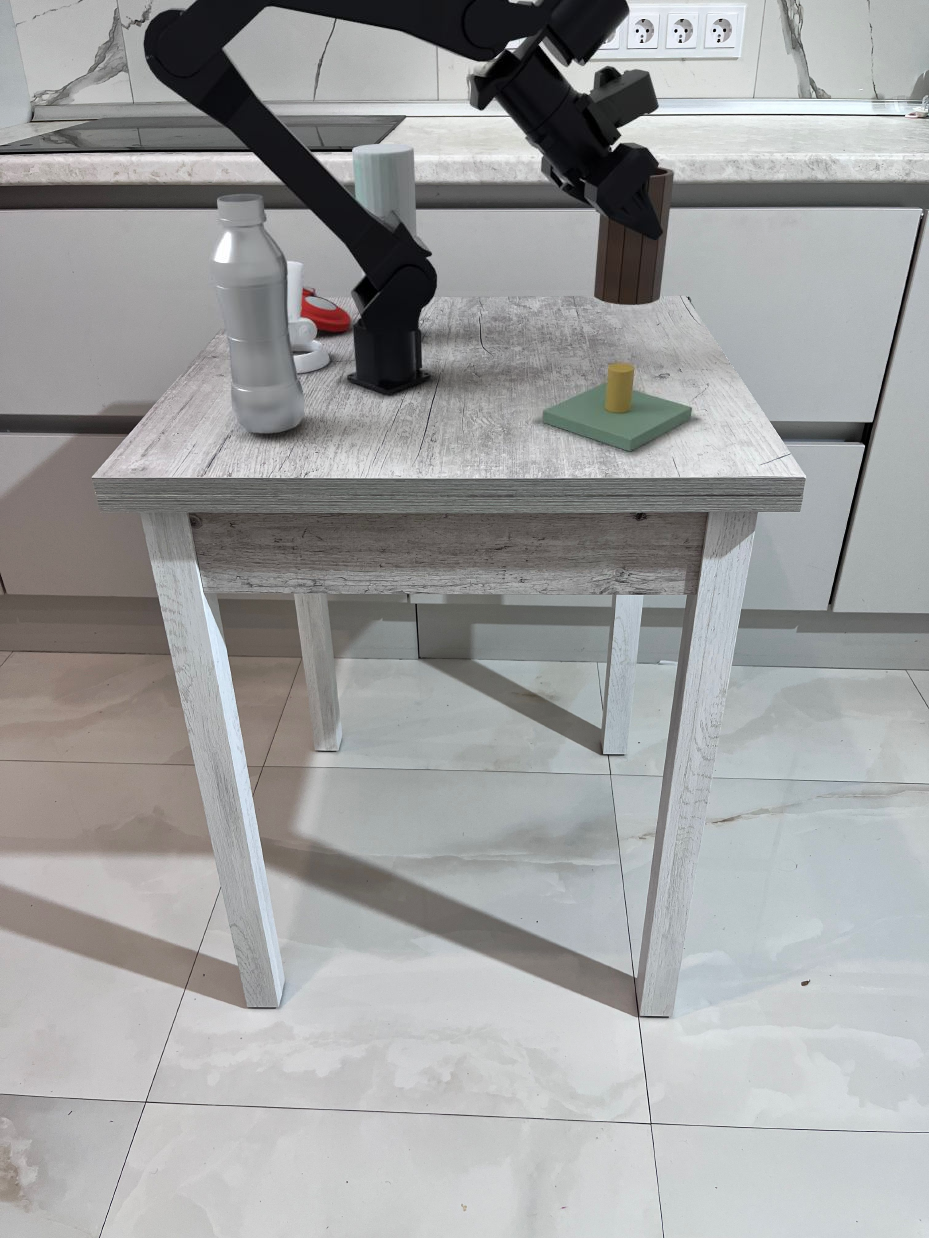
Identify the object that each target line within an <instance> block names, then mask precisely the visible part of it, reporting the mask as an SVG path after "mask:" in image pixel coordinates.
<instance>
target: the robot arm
mask: <svg viewBox="0 0 929 1238" xmlns="http://www.w3.org/2000/svg"><path fill="white" fill-rule="evenodd" d="M271 7H274V8H279V9H284V10H288V11H294V12H298V13H299V12H300V13H303V14H309V15H314V16H320V17H325V18H330V19H335V20H340V21H345V22H351V23H357V24H361V25H366V26H371V27H376V28H382V29H387V30H392V31H397V32H400V33H402V34H405V35H407V36H410V37H412V38H414V39H417V40H419V41H422V42H424V43H426V44H428V45H431V46H433V47H435V48H438V49H440V50H442V51H445V52H447V53H450V54H453V55H455V56H458V57H461V58H465V59H468V60H471V61H474V62H478V63H480V62H489V61H492V60H494V61H493V62H492V63H491V65H490V66H489V67H488V68H487V69H486V71H484V73H481V74H475V73H471V74H469V77H468V79H469V80H468V81H469V83H470V92H469V94H470V95H469V105H470V107H472V108H474V109H475V110H478V111H480V112H481V111H482V112H483V111H485V109H486V108H487V107H488V106H489V105H490V104H491V103H492V102H493V100H495V101H496V102H497V104H499V105H500V106H501V108H502V109H503V110H504V112H505V113H506V114H507V115H508V116H509V117H510V119H512V120H513V122H514V123H515V124H516V125H517V127H518V128H519V129H520V130H521V131H522V132H523V133H524V135H525V137H524V139H525V141H527V142H528V144H529V145H530V147H533V148H534V149H537V150H538V151H539V152H540V154H542V157H541V159H540V160H541V162H540V173H542V175H544V177H545V178H546V179H547V180H548V181H549V183H551V185H552V186H554V187H556V188H558V189H561V191H562V192H563V193H565V194H566V195H568V196H570V197H572V198H574V199H576V200H578V201H579V202H582V203H583V204H586V205H588V206H590V207H592V208H594V209H595V212H596V213H597V214H599V215H600V214H601V215H603V216H604V217H606V218H609V219H611V220H613V221H615V222H617V223H619V224H621V225H624V226H626V227H628V228H630V229H632V230H634V231H636V232H638V233H640V234H642V235H645V236H647V237H649V238H651V239H653V240H657V239H658V238H659V237H660V236H661V235H662V234H663V230H662V227H661V225H660V222H659V220H658V218H657V215H656V213H655V210H654V208H653V205H652V203H651V200H650V198H649V195H648V192H647V189H646V186H647V181H648V179H649V177H650V176H651V175H652V174H653V173H654V172H655V171H656V170H657V168H658V167H659V165H660V162H659V161H658V160H657V159H656V157H655V156H654V154H652V152H651V151H650V149H649V148H648V147H646V146H643V145H641V144H638V143H636V142H619V144H617V146H616V147H615V148H614V149H613V148H612V146H614V145H615V143H616V142H618V140H619V139H620V138H621V137H622V136H623V135H622V133H621V132H620V131H619V130H618V129H620V128H622V127H624V126H626V125H628V124H630V123H632V122H634V121H635V120H636V119H639V118H641V117H642V116H644V115H651V114H652V113H654V112H655V111H657V110H658V109H659V107H660V104H659V100H658V98H657V95H656V90H655V88H654V83H653V81H652V77H651V73H650V72H649V71H647V70H643V69H638V68H634V69H630V70H629V69H626V70H624V71H623V74H622V73H621V72H620V71H619V70H618V69H617V68H616V67H614V66H611V65H606V66H604V67H603V68H601V69H599V70H597V71H595V72H594V76H593V86H592V87H593V88H592V89H591V90H589V94H588V93H587V92H583V93H582V92H578V91H577V90H576V89H575V88H574V87H573V86H572V85H571V83H570V82H569V81H568V79H567V78H566V77H565V75H563V73H562V72H561V71H560V69H559V68H558V66H556V64H555V63H554V62H553V61H552V59H551V57H549V55H548V54H547V53H546V52H545V51H544V49H543V48H542V47H541V45H540V44H541V43H542V44H543V46H544V47H545V48H546V50H548V52H549V53H550V54H551V55H552V56H553V58H554V59H556V61H557V62H558V63H559V64H561V65H562V66H563V67H565V68H569V67H570V66H571V64H573V62H574V63H576V64H577V65H579V66H581V67H585V66H586V64H587V63H588V62H589V61H590V60H591V59H592V57H593V56H595V54H596V53H597V52H598V51H599V50H600V48H601V47H602V46H603V45H604V44H605V42H607V40H608V39H610V37H611V36H612V34H613V33H614V32H615V31H616V30H617V29H618V28H619V26H621V24H622V23H623V22H624V21H625V19H626V18H627V17H628V16H629V15H630V12H631V11H630V6H629V4H628V2H627V0H536V1H535V2H533V1H530V0H529V1H527V0H518V1H517V2H512V1H510V0H195V1H194V2H192V3H191V4H190V5H189V6H188V8H184V7H171V8H168V9H165V10H162V11H160V12H159V13H157V14H156V15H155V16H154V17H153V18H152V19H151V20H150V21H149V23H148V25H147V27H146V28H145V31H144V37H143V42H142V45H143V51H144V52H143V53H144V58H145V62H146V64H147V66H148V68H149V70H150V72H151V73H152V74H153V76H154V77H155V78H156V79H157V80H158V81H159V82H160V83H161V84H163V85H164V86H165V87H166V88H168V89H169V90H171V91H172V92H173V93H175V94H176V95H178V96H179V97H181V98H182V100H185V101H186V102H187V103H189V104H190V105H192V107H194V108H195V109H198V110H199V111H201V112H202V113H203V114H205V115H207V116H208V117H210V118H212V119H213V120H214V121H216V122H218V123H219V124H221V125H222V126H223V127H225V128H226V129H228V130H229V131H230V132H231V133H232V134H233V135H234V136H235V137H236V138H238V139H239V141H241V142H242V144H243V145H245V146H246V147H247V149H248V150H249V151H251V153H253V154H254V156H255V157H257V159H259V161H261V162H262V164H263V165H264V166H266V167H267V168H268V169H269V170H270V172H271V173H272V174H274V176H276V177H277V179H279V180H280V181H281V182H282V184H283V185H285V187H287V188H288V189H289V190H290V191H291V192H292V194H294V196H296V197H297V199H299V200H300V201H301V202H302V204H304V205H305V206H306V207H307V208H308V209H309V210H310V211H311V212H312V213H313V214H314V216H316V217H317V218H318V220H320V221H321V222H322V223H323V224H324V225H325V226H326V227H327V228H328V229H329V230H330V231H331V232H332V233H333V234H334V235H335V236H336V237H337V238H338V239H339V240H340V241H341V242H342V243H343V244H344V245H345V247H346V248H347V250H348V251H349V252H350V254H351V255H352V257H353V258H354V260H355V261H356V263H357V264H358V265H359V267H360V269H361V268H362V270H363V271H364V273H365V276H364V277H363V278H362V277H361V279H359V281H358V282H357V284H356V285H355V286H354V287H353V288H352V289H351V291H350V295H351V297H352V300H353V302H354V305H355V306H356V307H355V308H357V311H358V313H359V316H360V318H358V319H357V322H355V323H352V335H353V336H352V337H353V348H354V349H353V350H354V362H355V371H354V372H351V373H349V374H347V375H346V380H347V381H348V382H350V383H353V384H356V385H358V386H359V385H360V386H362V387H365V388H368V389H371V390H373V391H377V392H378V393H381V394H385V395H390V394H393V393H396V392H399V391H401V390H404V389H407V388H409V387H412V386H415V385H418V384H420V383H422V382H425V381H428V380H431V378H432V373H431V372H428V371H425V370H422V368H423V350H422V348H423V347H422V331H421V329H420V317H421V313H422V312H423V311H422V310H423V309H424V308H425V307H427V306H428V305H429V304H430V302H431V301H432V299H433V298H434V297H435V294H436V291H437V288H438V273H437V271H436V268H435V267H434V265H433V264H432V262H431V261H430V260H429V257H432V256H433V252H432V251H431V250H430V249H429V247H428V246H427V245H426V243H424V242H425V241H423V240H422V239H421V237H420V236H415V235H413V234H411V233H410V232H409V231H408V229H407V228H406V226H405V225H404V223H403V222H402V221H401V220H400V218H399V217H398V216H397V214H396V213H395V212H394V211H393V210H392V211H391V212H390V214H389V215H388V217H387V218H386V220H385V221H383V220H382V219H380V218H379V217H377V216H376V215H374V214H373V213H371V212H370V211H368V210H367V209H366V208H365V207H364V206H363V205H362V204H361V203H360V202H359V201H358V200H357V199H356V196H354V195H353V193H351V192H350V191H349V189H348V188H347V187H345V186H344V184H343V183H342V182H341V181H340V180H339V179H338V178H337V177H336V176H335V175H334V173H332V172H331V171H330V170H329V169H328V168H327V166H326V165H325V164H323V162H322V161H320V159H319V158H318V157H317V156H316V155H315V154H314V153H313V152H312V151H311V150H310V149H309V148H308V147H307V145H305V144H304V142H303V141H301V140H300V139H299V137H298V136H297V135H296V134H295V133H294V132H293V131H292V130H291V129H290V128H289V127H288V126H287V124H285V123H284V121H282V120H281V119H280V118H279V117H278V116H277V114H276V113H275V112H273V110H272V109H271V108H270V107H269V106H268V105H267V104H266V103H265V102H264V101H263V100H262V99H261V98H260V97H259V96H258V95H257V93H255V90H254V89H253V88H252V87H251V85H250V84H249V82H248V81H247V79H246V78H245V76H244V75H243V73H242V72H241V70H240V69H239V68H238V66H237V64H235V62H234V60H233V59H232V57H231V56H230V54H229V53H228V52H227V50H226V49H225V47H226V46H227V45H228V44H229V43H230V42H231V41H232V40H234V38H235V37H236V36H237V35H238V34H239V33H240V32H242V31H243V30H244V29H245V28H246V26H247V25H249V24H250V23H251V22H252V21H253V20H254V19H255V18H256V17H257V16H258V15H259V14H260V13H261V12H262V11H263V10H265V9H266V8H271ZM522 39H524V40H523V41H522V42H521V44H519V45H518V47H517V48H516V49H515V50H513V51H511V50H509V49H507V46H508V45H509V43H510V42H514V41H518V40H522ZM563 181H564V182H565V183H563ZM418 320H419V322H418Z"/></svg>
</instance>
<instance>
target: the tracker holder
mask: <svg viewBox="0 0 929 1238" xmlns="http://www.w3.org/2000/svg"><path fill="white" fill-rule="evenodd" d="M301 307H302V309H301V313H300V317H303V318H307V319H310V320H311V321H313V322H314V324H315V325H316V328H317V330H320V331H325V332H326V331H327V332H333V333H341V332H345V331H348V330H349V328H350V325H351V321H352V319H351V315H350V314H349V313H348V312H347V311H346V310H344V309H343V308H341V307H340V306H338V305H337V304H335V303H334V302H332V301H331V300H329V299H327V298H324V297H321V296H318V295H317V293H316V288H313V287H310V286H309V285H305V284H303V291H302V302H301Z"/></svg>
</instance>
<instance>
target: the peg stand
mask: <svg viewBox="0 0 929 1238" xmlns="http://www.w3.org/2000/svg"><path fill="white" fill-rule="evenodd" d="M634 379H635V366H634V365H633V364H630V363H627V362H615V363H611V364H609V365H608V367H607V376H606V381H605V382H603V383H601V384H599V385H596V386H594V387H591V388H590V389H588V390H585V391H583V392H580V393H578V394H576V395H574V396H572V397H570V398H567V399H565V400H563V401H560V402H558V403H556V404H554V405H552V406H550V407H548V408H545V409H543V410H542V423H544V424H547V425H550V426H553V427H556V428H559V429H562V430H565V431H568V432H571V433H574V434H578V435H580V436H583V437H585V438H589V439H592V440H594V441H598V442H600V443H603V444H606V445H610V446H612V447H615V448H618V449H621V450H624V451H627V452H632V451H634V450H636V449H638V448H640V447H642V446H643V445H645V444H647V443H649V442H650V441H652V440H654V439H656V438H658V437H659V436H662V435H664V434H665V433H667V432H669V431H671V430H673V429H675V428H676V427H678V426H681V425H682V424H684V423H686V422H688V421H690V420H691V419H692V413H693V406H690V405H687V404H683V403H679V402H676V401H674V400H668V399H665V398H662V397H658V396H655V395H652V394H649V393H646V392H641V391H638V390H636V389H635V390H634V389H633V388H634V381H635V380H634Z"/></svg>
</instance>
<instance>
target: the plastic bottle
mask: <svg viewBox="0 0 929 1238" xmlns="http://www.w3.org/2000/svg"><path fill="white" fill-rule="evenodd" d="M216 200H217V201H216V205H217V213H218V216H217V221H218V222H217V223H218V224H219V225H221V226H222V230H221V232H220V235H219V237H218V239H216V242H215V244H214V245H213V248H212V251H211V253H210V255H209V261H208V262H209V263H208V271H209V275H210V280H211V281H212V286H213V289H214V292H215V295H216V299H217V301H218V305H219V309H220V312H221V315H222V320H223V324H224V329H225V331H226V338H227V342H228V343H227V344H228V349H229V363H230V364H229V365H230V374H231V384H230V407H231V409H232V412H233V414H234V417H235V420H236V422H237V423H238V424H239V425H240V426H241V427H242V428H243V429H244V430H246V431H247V432H251V433H256V434H277V433H281V432H285V431H290V430H292V429H294V428H296V427H298V425H300V423H301V421H302V419H303V418H304V415H305V408H306V407H305V406H306V398H305V397H306V396H305V394H304V388H303V386H302V382H301V380H300V377H299V375H298V373H297V371H296V366H295V361H294V357H293V356H294V351H293V352H292V347H291V342H290V334H289V328H288V325H289V321H288V308H287V307H288V277H287V275H288V267H287V261H288V260H287V257H286V256H285V254H284V251H283V249H282V248H281V246H279V244H278V242H277V241H276V240H275V239H274V238H273V237H272V235H271V234H270V233H269V232H268V231H267V229H266V228H265V225H264V223H266V222H267V214H266V213H265V204H264V197H263V195H261V194H254V193H237V194H229V195H228V194H227V195H223V196H219V197H218V198H217V199H216Z"/></svg>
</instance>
